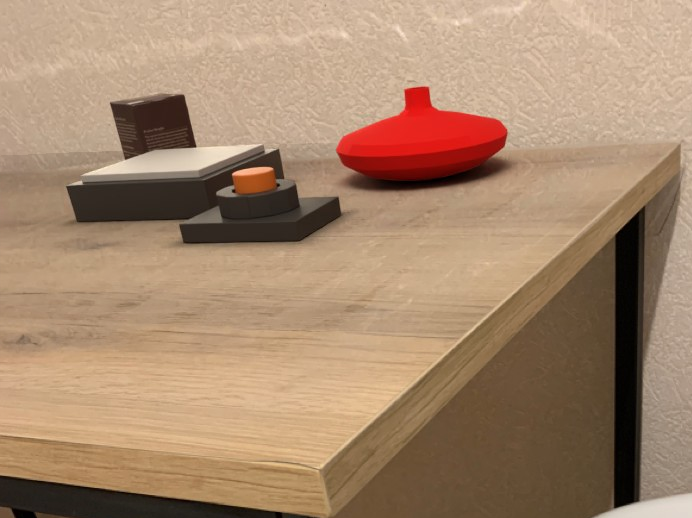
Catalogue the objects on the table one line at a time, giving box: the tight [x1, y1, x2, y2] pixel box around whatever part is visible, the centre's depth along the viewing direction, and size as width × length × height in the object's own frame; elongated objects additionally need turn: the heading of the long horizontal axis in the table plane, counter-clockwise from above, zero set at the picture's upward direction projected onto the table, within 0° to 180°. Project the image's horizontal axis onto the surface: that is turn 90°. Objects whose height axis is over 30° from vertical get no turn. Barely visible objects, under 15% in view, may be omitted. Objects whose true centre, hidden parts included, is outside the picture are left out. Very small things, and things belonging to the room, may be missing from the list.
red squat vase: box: [335, 86, 509, 182], centre depth 82 cm, size 16×16×7 cm
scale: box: [65, 143, 286, 223], centre depth 83 cm, size 14×14×4 cm
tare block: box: [178, 179, 342, 244], centre depth 70 cm, size 10×8×3 cm
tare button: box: [232, 167, 277, 194], centre depth 69 cm, size 3×3×2 cm
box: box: [109, 92, 198, 160], centre depth 96 cm, size 6×6×7 cm
